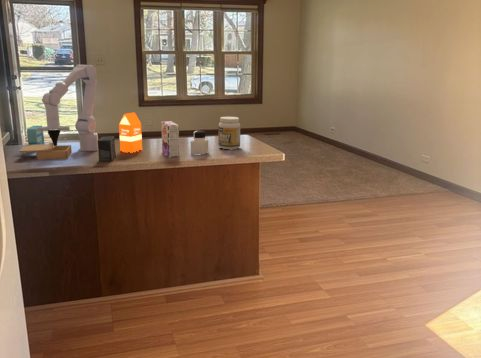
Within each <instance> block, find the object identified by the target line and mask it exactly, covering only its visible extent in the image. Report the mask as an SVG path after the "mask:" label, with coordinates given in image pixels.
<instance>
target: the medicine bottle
mask: <svg viewBox="0 0 481 358" xmlns="http://www.w3.org/2000/svg"><path fill="white" fill-rule="evenodd" d="M207 152H208V153H209V139H207V138H206V131H205V130H195V131H193V139H192V140H190V155H192V154H202V155H201V156H204V155H203V154H205V153H207ZM208 153H207V154H208ZM205 155H206V154H205Z"/></svg>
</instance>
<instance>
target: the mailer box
mask: <svg viewBox="0 0 481 358" xmlns="http://www.w3.org/2000/svg"><path fill="white" fill-rule="evenodd" d="M72 150H73V149H72V145H71V144H64V145H62V144H61V145H58V144H57V146H56V147H55V148H54V149H53V150H52V151H43V152H35V155H36V160H37V161H39V160H40V161H41V160H43V161H45V160H68V159H69V158H70V156H71V155H72V152H73V151H72Z"/></svg>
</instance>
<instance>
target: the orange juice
mask: <svg viewBox="0 0 481 358" xmlns="http://www.w3.org/2000/svg"><path fill="white" fill-rule="evenodd" d="M118 130H119V131H118V132H119V147H120V152H121V151H122V152H123V153H128V152H130V154H133V152H134V153H136V151H137V152H140V151H139V150H141V151H143V137H142V136H143V135H142V134H143V133H142V123H141V120H139V118H138V116H137V114H136V112H128V113H124V114H123V116H122V118H121V120H120V122H119V124H118Z"/></svg>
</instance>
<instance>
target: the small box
mask: <svg viewBox="0 0 481 358" xmlns="http://www.w3.org/2000/svg"><path fill="white" fill-rule="evenodd" d="M97 151H98V163H99V162H100V163H101V162H102V163H103V162H109V163H110V162H111V161H112V162H113V161H114V160H115V158H116V157H117V154H116V141H115V136H110V135H109V136H101V137H100V138H98V150H97Z"/></svg>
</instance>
